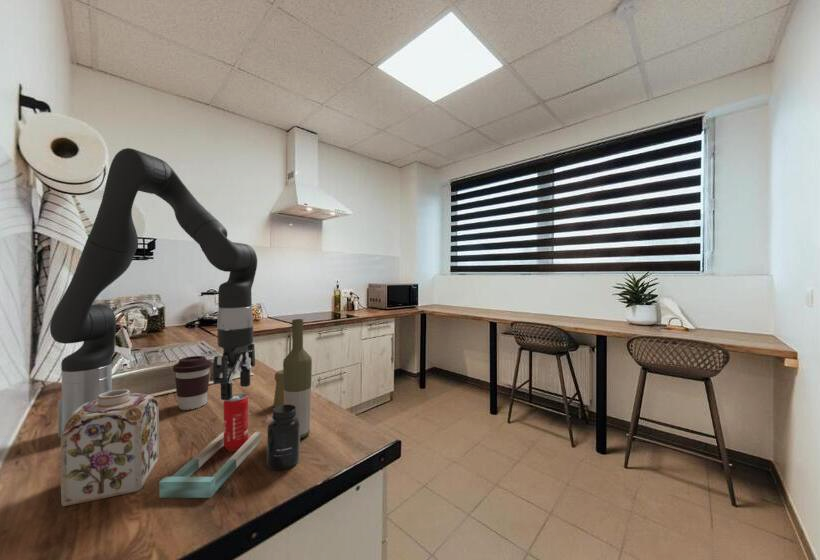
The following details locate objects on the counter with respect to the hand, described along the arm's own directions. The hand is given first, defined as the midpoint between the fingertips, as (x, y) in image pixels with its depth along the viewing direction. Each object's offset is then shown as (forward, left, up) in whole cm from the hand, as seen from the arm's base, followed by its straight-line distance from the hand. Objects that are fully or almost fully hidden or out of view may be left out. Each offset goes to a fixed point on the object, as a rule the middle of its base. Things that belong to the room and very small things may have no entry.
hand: (236, 392), depth 78 cm
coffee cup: (-26, +24, -13) cm, 38 cm away
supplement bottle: (+14, -6, -13) cm, 20 cm away
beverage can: (0, 0, -13) cm, 13 cm away
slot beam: (0, -7, -13) cm, 15 cm away
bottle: (+13, +6, -13) cm, 19 cm away
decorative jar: (-17, -13, -13) cm, 25 cm away
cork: (+2, +25, -13) cm, 28 cm away
